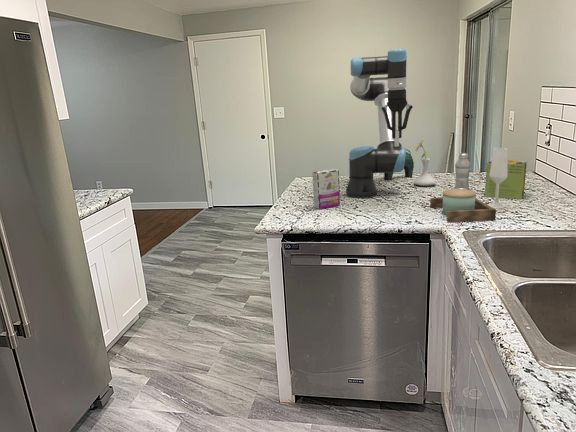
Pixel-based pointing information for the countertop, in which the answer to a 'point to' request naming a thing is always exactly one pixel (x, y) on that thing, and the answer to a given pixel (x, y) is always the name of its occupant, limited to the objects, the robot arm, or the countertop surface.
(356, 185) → the robot arm
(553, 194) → the countertop surface
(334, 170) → the candy bar box
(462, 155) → the plastic bottle
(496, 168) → the champagne flute
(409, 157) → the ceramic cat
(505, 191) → the protein box
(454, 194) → the green canister
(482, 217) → the walnut bay
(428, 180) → the flower in vase
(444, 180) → the countertop surface
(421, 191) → the countertop surface
